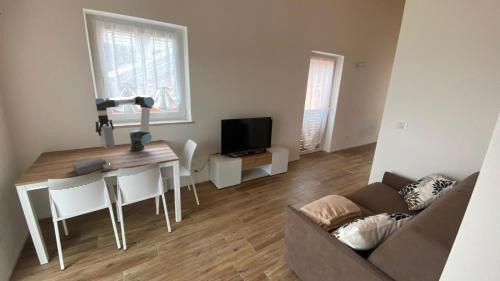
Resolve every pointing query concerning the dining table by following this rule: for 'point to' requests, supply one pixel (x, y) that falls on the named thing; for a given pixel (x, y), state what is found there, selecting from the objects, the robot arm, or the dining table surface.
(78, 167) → the stand
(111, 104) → the robot arm
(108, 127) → the hard drive box
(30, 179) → the dining table surface
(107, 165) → the metal tin
